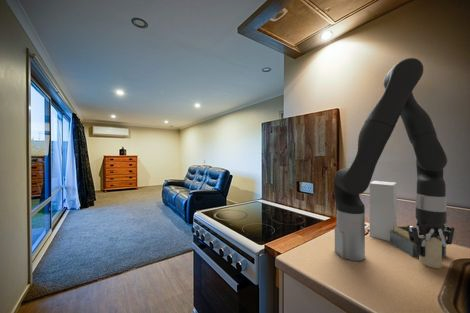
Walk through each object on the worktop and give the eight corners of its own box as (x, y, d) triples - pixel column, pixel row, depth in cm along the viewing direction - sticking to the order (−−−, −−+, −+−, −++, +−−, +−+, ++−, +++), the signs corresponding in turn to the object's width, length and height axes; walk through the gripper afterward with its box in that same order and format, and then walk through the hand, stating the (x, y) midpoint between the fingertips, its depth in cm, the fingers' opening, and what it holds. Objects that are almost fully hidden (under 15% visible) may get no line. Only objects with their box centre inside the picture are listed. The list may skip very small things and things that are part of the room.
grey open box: (412, 256, 71) (412, 236, 71) (389, 242, 82) (389, 225, 82) (446, 256, 71) (446, 236, 71) (418, 242, 82) (418, 225, 82)
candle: (446, 269, 63) (446, 239, 63) (427, 267, 65) (427, 238, 64) (433, 260, 69) (433, 232, 69) (415, 258, 70) (415, 231, 70)
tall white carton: (393, 242, 82) (393, 185, 82) (369, 236, 89) (369, 182, 88) (397, 236, 88) (397, 182, 88) (373, 230, 95) (373, 180, 94)
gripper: (419, 211, 63) (419, 261, 63) (464, 210, 62) (464, 261, 63) (400, 204, 70) (400, 250, 71) (440, 204, 70) (440, 250, 70)
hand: (430, 255), depth 67 cm, fingers closed on candle, 5 cm apart
